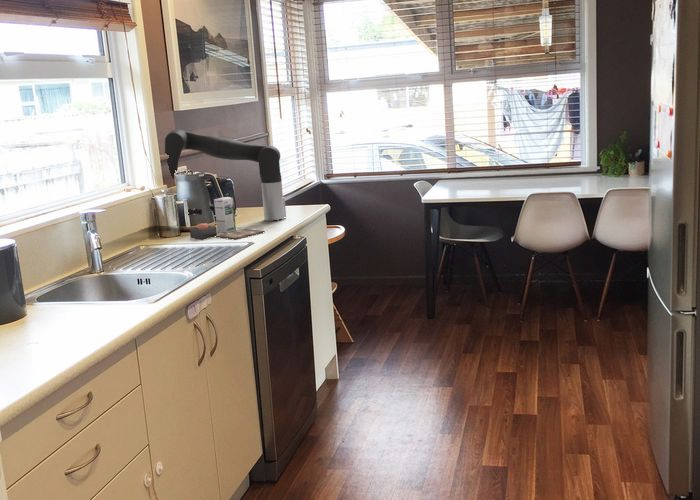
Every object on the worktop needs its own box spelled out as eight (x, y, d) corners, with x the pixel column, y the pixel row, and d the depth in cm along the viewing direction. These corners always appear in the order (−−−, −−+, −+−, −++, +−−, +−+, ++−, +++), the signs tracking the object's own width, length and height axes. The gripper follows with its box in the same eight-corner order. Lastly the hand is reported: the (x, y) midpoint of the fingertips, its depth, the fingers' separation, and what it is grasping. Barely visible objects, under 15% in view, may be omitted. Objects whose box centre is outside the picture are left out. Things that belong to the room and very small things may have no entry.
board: (245, 230, 327) (245, 228, 326) (264, 232, 319) (264, 230, 319) (216, 237, 315) (215, 235, 315) (235, 239, 307) (235, 237, 307)
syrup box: (226, 233, 323) (223, 199, 320) (216, 232, 327) (213, 198, 324) (236, 230, 328) (233, 197, 325) (226, 229, 331) (223, 196, 328)
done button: (204, 230, 320) (203, 222, 319) (210, 230, 317) (210, 223, 316) (195, 231, 316) (194, 224, 316) (202, 232, 313) (201, 225, 313)
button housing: (205, 234, 322) (204, 225, 321) (216, 236, 317) (216, 226, 316) (190, 238, 317) (189, 228, 316) (202, 239, 312) (201, 230, 311)
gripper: (172, 202, 337) (195, 204, 326) (198, 197, 347) (221, 199, 337) (174, 219, 338) (197, 221, 328) (200, 214, 349) (223, 216, 338)
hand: (209, 210), depth 332 cm, fingers open, 8 cm apart
